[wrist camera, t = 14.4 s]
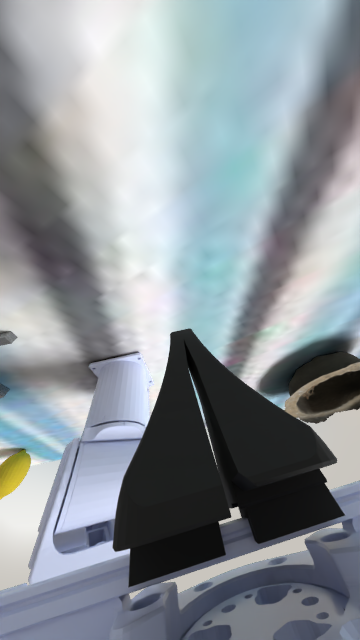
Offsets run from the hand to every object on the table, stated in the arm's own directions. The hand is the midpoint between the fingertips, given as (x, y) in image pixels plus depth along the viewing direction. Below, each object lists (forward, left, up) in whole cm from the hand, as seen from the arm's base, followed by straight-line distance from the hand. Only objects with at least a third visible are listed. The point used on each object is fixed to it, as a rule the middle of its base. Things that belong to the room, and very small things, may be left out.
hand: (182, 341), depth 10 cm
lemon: (-35, +42, -10) cm, 56 cm away
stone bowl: (-32, -34, -10) cm, 48 cm away
